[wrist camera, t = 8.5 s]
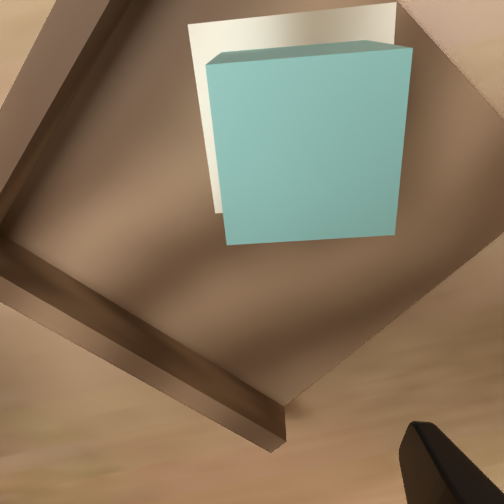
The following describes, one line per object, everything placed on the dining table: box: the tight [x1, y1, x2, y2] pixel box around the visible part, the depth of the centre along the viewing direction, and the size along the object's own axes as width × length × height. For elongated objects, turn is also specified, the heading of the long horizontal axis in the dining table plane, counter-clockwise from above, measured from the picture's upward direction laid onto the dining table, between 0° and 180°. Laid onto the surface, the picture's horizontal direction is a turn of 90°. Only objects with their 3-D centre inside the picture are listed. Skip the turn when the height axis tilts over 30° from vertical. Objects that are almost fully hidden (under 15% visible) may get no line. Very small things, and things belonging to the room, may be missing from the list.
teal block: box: [205, 40, 413, 245], centre depth 14 cm, size 5×5×5 cm
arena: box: [0, 0, 504, 453], centre depth 17 cm, size 18×18×3 cm
